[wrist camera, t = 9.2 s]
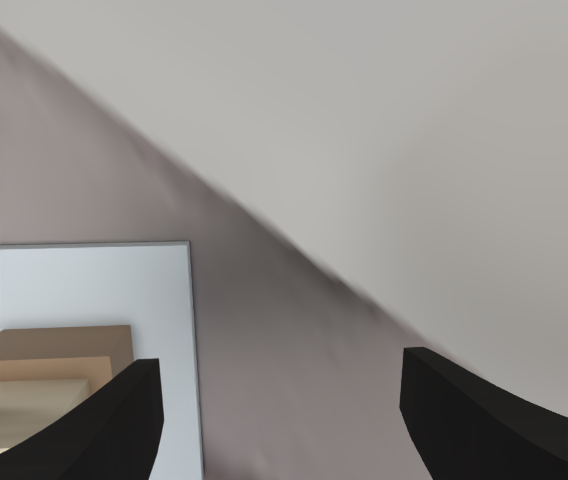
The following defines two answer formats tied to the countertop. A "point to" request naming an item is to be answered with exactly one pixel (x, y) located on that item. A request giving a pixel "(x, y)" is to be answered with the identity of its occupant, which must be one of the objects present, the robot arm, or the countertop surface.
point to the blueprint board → (107, 327)
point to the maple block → (36, 406)
